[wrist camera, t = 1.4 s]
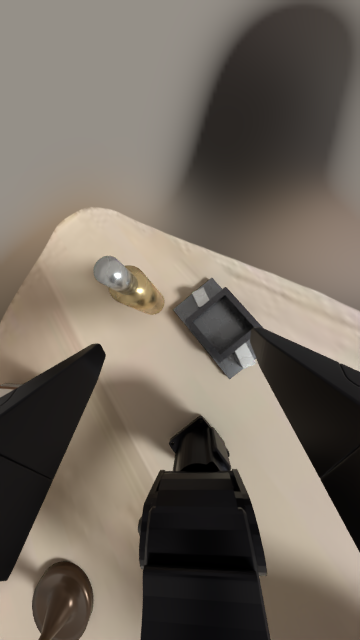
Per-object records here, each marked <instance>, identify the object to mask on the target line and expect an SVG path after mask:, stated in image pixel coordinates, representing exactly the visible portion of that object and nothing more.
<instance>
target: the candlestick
mask: <svg viewBox="0 0 360 640" xmlns="http://www.w3.org/2000/svg"><path fill="white" fill-rule="evenodd" d="M92 609H93V591H92V587H91V584H90V582H89V579H88V577H87V576H86V574H85V573H84V572H83V571H82V570H81V569H80V568H79V567H78V566H76V565H75V564H73V563H70V562H58V563H55V564H53V565H52V566H51V567H49V568H48V569H47V571H46V572H45V573H44V575H43V576H42V578H41V580H40V581H39V583H38V585H37V586H36V589H35V591H34V595H33V600H32V610H33V617H34V621H35V623H36V626H37V628H38V630H39V631H40V633H41V636H40V638H39V640H78V639H79V638H80V637H81V636H82V635H83V633H84V631H85V629H86V626H87V624H88V621H89V618H90V615H91V613H92Z"/></svg>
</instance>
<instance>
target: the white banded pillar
mask: <svg viewBox="0 0 360 640" xmlns="http://www.w3.org/2000/svg"><path fill="white" fill-rule="evenodd" d="M21 385H22V384H8V383H6V384H2V385H0V397H2V396H4V395H5V394H7V393H9V392H11V391H12V390H14V389H16V388H18V387H19V386H21Z"/></svg>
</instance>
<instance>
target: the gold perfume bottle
mask: <svg viewBox="0 0 360 640" xmlns="http://www.w3.org/2000/svg"><path fill="white" fill-rule="evenodd" d="M94 276H95V278H96V280H97V281H99V282H100V283H102V284H104V285H106V286H108V287H109V291H110V294H111V296H112V297H113V298H114V299H115V300H116V301H118V302H120V303H122V304H125V305H127V306H130V307H132V308H135V309H137V310H139V311H142V312H144V313H147V314H150V315H153V314H157V313H159V312H160V311H161V310H162V308H163V306H164V298H163V296H162V294H161V293H160V292H159V291H158V290H157V289H156V287H155V286H154V285H153V284H152V283H151V281H150V280H149V279H148V278H147V277H146V276H145V274H144V273H143V272H142V271H141V270H140V269H139V268H137V267H135V266H124V265H123V264H122V263H121V262H120V261H118V260H117V259H116V258H115V257H113V256H104V257H102V258H100V259H99V260H98V261H97V262H96V264H95V266H94Z"/></svg>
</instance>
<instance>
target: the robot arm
mask: <svg viewBox="0 0 360 640" xmlns="http://www.w3.org/2000/svg"><path fill="white" fill-rule="evenodd" d="M250 343H251V346H252V349H253V351H254V354H255V356H256V359H257V361H258V364H259V366H260V368H261V370H262V372H263V374H264V376H265V378H266V379H267V381H268V383H269V385H270V387H271V389H272V391H273V392H274V394H275V396H276V398H277V400H278V402H279V404H280V405H281V407H282V409H283V411H284V413H285V415H286V416H287V418H288V420H289V422H290V424H291V426H292V428H293V429H294V431H295V433H296V435H297V437H298V439H299V441H300V442H301V444H302V446H303V448H304V450H305V452H306V453H307V455H308V457H309V459H310V461H311V463H312V465H313V466H314V468H315V470H316V472H317V474H318V476H319V477H320V478H321V482H322V483H323V485H324V487H325V489H326V491H327V493H328V495H329V496H330V498H331V500H332V502H333V504H334V506H335V507H336V509H337V511H338V513H339V515H340V517H341V519H342V520H343V522H344V524H345V526H346V528H347V530H348V532H349V533H350V535H351V537H352V539H353V541H354V543H355V545H356V546H357V548H358V550H359V552H360V372H359V371H357V370H354V369H352V368H350V367H348V366H346V365H343V364H339V362H337V361H334V360H332V359H330V358H328V357H326V356H323V355H321V354H319V353H317V352H314V351H312V350H310V349H308V348H306V347H303V346H301V345H299V344H297V343H294V342H292V341H290V340H288V339H286V338H283V337H281V336H279V335H277V334H275V333H272V332H270V331H268V330H266V329H263V328H261V327H255V328H252V329H251V335H250ZM105 356H106V354H105V352H104V350H103V348H102V346H101V345H100V344H91V345H90V346H88V347H86V348H85V349H83V350H81V351H79V352H78V353H76V354H74V355H73V356H71V357H69V358H67V359H66V360H64V361H62V362H60V363H59V364H57V365H55V366H54V367H52V368H50V369H48V370H47V371H45V372H43V373H42V374H40V375H38V376H36V377H35V378H33V379H31V380H30V381H28V382H26V383H24V384H23V385H21V386H19V387H18V388H16V389H14V390H12V391H11V392H9V393H7V394H5V395H4V396H2V397H0V581H7V580H8V578H9V576H10V574H11V572H12V570H13V568H14V566H15V564H16V562H17V559H18V557H19V555H20V553H21V550H22V548H23V546H24V544H25V541H26V539H27V537H28V535H29V532H30V530H31V528H32V526H33V524H34V521H35V519H36V517H37V515H38V512H39V510H40V508H41V506H42V503H43V501H44V499H45V497H46V495H47V492H48V490H49V488H50V486H51V483H52V481H53V479H54V476H55V474H56V472H57V470H58V467H59V465H60V463H61V461H62V458H63V456H64V454H65V452H66V450H67V447H68V445H69V443H70V441H71V438H72V436H73V434H74V432H75V430H76V427H77V425H78V423H79V421H80V418H81V416H82V414H83V412H84V409H85V407H86V405H87V403H88V401H89V398H90V396H91V394H92V392H93V389H94V387H95V385H96V383H97V380H98V377H99V375H100V372H101V369H102V366H103V363H104V360H105ZM200 419H202V421H200ZM172 442H174V443H172ZM169 445H170V447H171V448H172V449H173V451H174V452H175V460H174V467H173V471H165V470H160V472H159V474H158V476H157V478H156V480H155V482H154V484H153V486H152V488H151V490H150V492H149V494H148V497H147V499H146V501H145V503H144V506H143V514H142V517H141V518H140V520H139V524H138V532H139V535H140V545H139V561H140V567H141V569H143V609H142V628H141V640H270V634H269V629H268V623H267V618H266V612H265V607H264V601H263V596H262V590H261V585H260V579H259V576H267V569H266V562H265V556H264V551H263V546H262V542H261V537H260V533H259V529H258V525H257V521H256V517H255V514H254V510H253V507H252V504H251V501H250V498H249V495H248V493H247V491H246V488H245V486H244V484H243V482H242V479H241V477H240V475H239V472H238V470H237V469H232V471H230V470H231V465H230V461H229V458H228V457H229V451H228V449H227V448H226V447H225V443H224V441H223V440H222V438H221V437H220V436H219V434H218V433H217V432H216V430H215V429H214V428H213V427H210V425H209V424H208V423H207V421H206V420H205V419H204V417H202V416H199V417H198V418H197V419H195V420H194V421H193V422H192V423H190V424H189V425H188V426H187V427H185V428H184V429H183V430H181V431H180V432H179V433H178V434H176V435H175V436H174V437H173V438H171V439H170V442H169Z"/></svg>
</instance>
